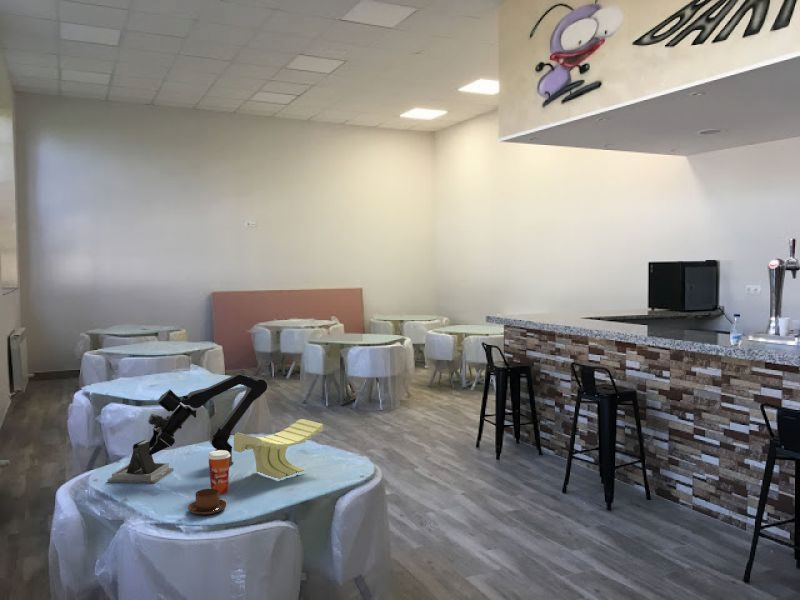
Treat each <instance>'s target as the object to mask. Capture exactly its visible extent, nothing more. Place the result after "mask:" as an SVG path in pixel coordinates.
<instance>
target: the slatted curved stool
mask: <svg viewBox="0 0 800 600" xmlns="http://www.w3.org/2000/svg"><path fill="white" fill-rule="evenodd" d="M323 431H324V424H323V423H321V422H316V421H312V420H309V419H304V418H302V419H301V418H299V419H298V420H296V421H295V422H294V423H292V424H290V425H289V427H286V428H284V429H283V430H281V431H279V432H277V433H273V434H270V435H266V436H252V435H248V434H246V433H242V432H238V431H237V432H235V434H234V436H233V451H234V452H237V453H242V452H244V451H246V450H247V451H248V450H252V452H253V455H254V459H255V469H256V473H257V472H260V473H263V474H265V475H268V476H271V477H274V478H278V479H281V478H283V477H286V476H290V475H293V474H295V473H297V472H298V473H299V472H302V471H305V469H303V468H301V467H298V466H296V465H295V464H292V463H291V462H289V460H288V459H287V457H286V453H287V450H288V447H293V446H296V445H301V444H304V443H307V440H312V439H313V438H312V436H318V432H319V433H321V432H323Z"/></svg>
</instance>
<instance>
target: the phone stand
mask: <svg viewBox="0 0 800 600" xmlns="http://www.w3.org/2000/svg"><path fill="white" fill-rule="evenodd" d="M149 441H150V440H147V439H143V440H141V441H138V442H136V443H134V444H133V445H132V455H131V458H130V461H129V463H128V464H129V467H128V470H127V473H126V474H151V473H152V472H154V471H155V470H157V469H156V466H155V463H156V462H155V460H154V459H153V455H149V452H150V450H151V448H149ZM141 468H142V469H141Z"/></svg>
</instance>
